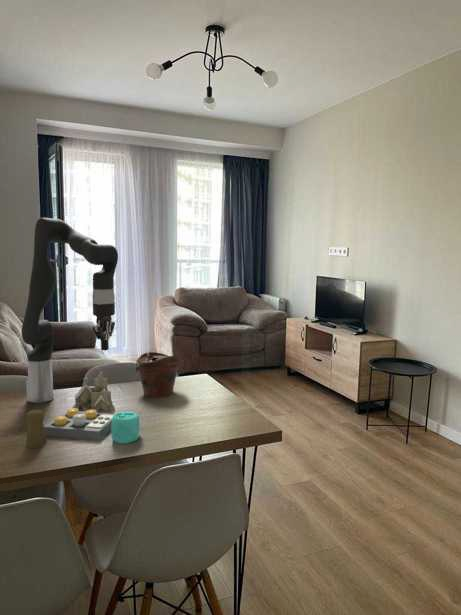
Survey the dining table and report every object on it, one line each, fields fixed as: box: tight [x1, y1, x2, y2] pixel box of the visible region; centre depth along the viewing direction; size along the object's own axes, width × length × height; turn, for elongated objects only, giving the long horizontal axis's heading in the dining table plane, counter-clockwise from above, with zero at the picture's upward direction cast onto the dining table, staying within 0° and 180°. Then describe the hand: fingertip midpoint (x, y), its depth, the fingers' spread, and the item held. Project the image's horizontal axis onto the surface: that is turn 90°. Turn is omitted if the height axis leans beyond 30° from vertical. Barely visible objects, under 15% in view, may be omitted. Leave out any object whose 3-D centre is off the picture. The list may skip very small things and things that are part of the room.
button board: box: [43, 411, 116, 441], centre depth 157 cm, size 20×16×4 cm
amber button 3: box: [85, 410, 97, 419], centre depth 160 cm, size 4×4×3 cm
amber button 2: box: [66, 407, 79, 418], centre depth 162 cm, size 4×4×3 cm
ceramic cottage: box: [72, 371, 116, 414], centre depth 173 cm, size 16×16×15 cm
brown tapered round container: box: [134, 351, 181, 398], centre depth 197 cm, size 18×20×18 cm
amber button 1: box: [53, 415, 67, 427], centre depth 154 cm, size 4×4×3 cm
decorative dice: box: [110, 410, 140, 444], centre depth 149 cm, size 8×8×8 cm
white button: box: [73, 414, 86, 426], centre depth 152 cm, size 4×4×3 cm
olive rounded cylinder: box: [25, 409, 47, 449], centre depth 144 cm, size 6×6×11 cm
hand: (104, 349), depth 160 cm, fingers closed
